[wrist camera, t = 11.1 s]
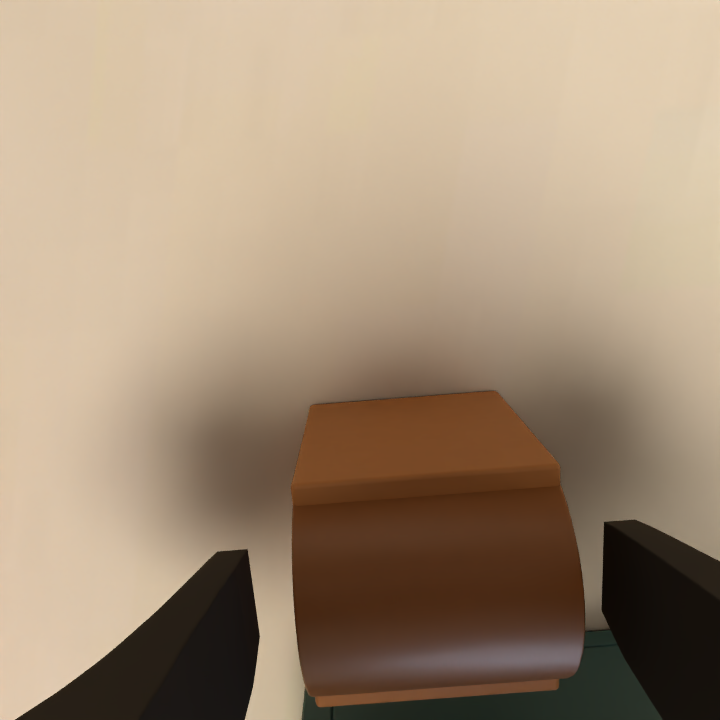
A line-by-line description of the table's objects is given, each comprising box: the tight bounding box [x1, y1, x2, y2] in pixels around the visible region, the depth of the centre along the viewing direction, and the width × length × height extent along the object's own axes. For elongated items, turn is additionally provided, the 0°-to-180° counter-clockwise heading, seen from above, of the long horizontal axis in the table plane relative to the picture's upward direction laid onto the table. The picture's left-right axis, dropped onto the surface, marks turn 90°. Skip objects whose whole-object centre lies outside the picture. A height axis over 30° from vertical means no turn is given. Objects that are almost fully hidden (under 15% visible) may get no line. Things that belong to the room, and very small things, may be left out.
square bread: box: [291, 391, 585, 707], centre depth 13 cm, size 5×5×6 cm
